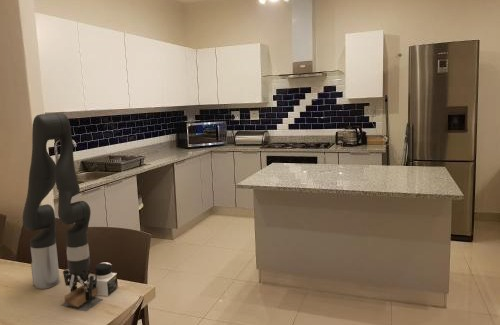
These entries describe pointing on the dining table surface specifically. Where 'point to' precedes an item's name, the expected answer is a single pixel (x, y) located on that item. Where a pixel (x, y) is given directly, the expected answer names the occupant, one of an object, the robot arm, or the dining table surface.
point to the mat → (85, 304)
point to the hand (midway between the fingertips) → (81, 298)
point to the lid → (78, 296)
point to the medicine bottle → (105, 279)
